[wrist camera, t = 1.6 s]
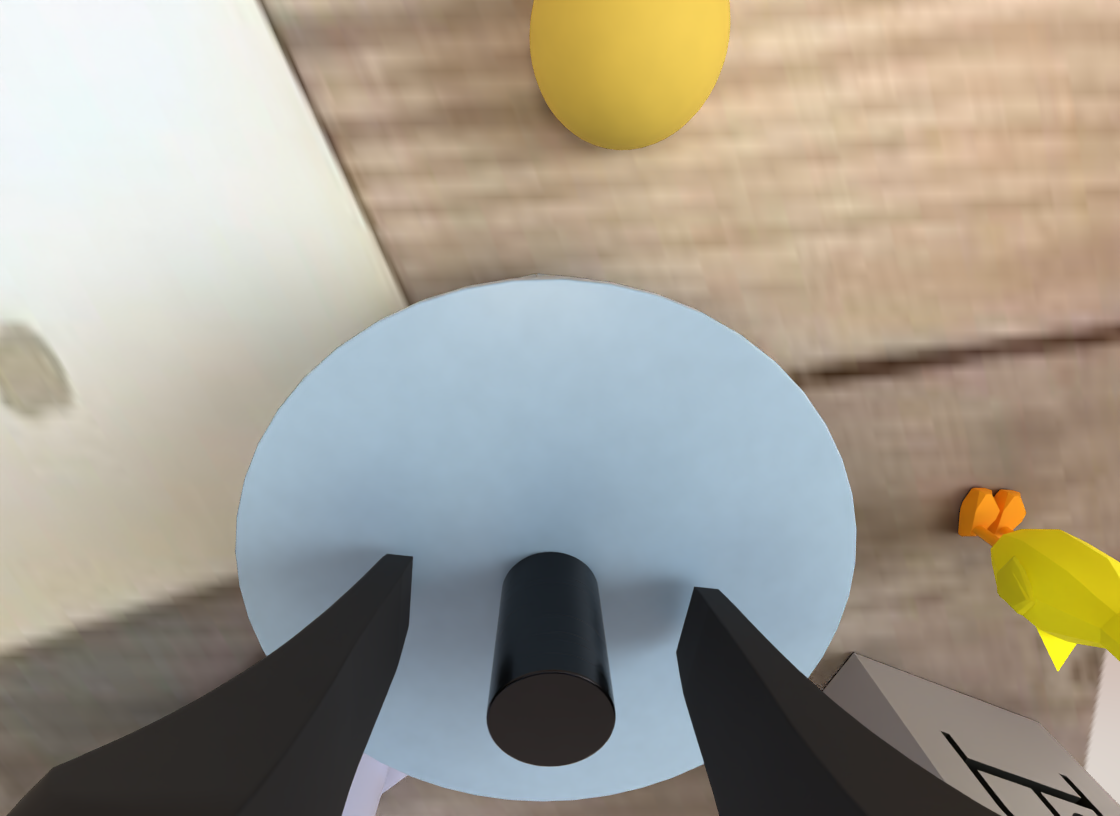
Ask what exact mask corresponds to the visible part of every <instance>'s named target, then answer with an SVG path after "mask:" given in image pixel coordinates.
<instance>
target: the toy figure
mask: <svg viewBox="0 0 1120 816" xmlns="http://www.w3.org/2000/svg"><path fill="white" fill-rule="evenodd" d="M1025 515H1026V511H1025V508H1024V505H1023V503H1022V500H1021V497H1020V493H1019V492H1016V491H1013V490H1003V489H1000V490H999V491H998V493H997V494H996V495H995V496H994V497H993V495H992V490H989V489H987V488H972V489H971V490H970V492H969V493H968V495H967V496H966V498H965V499H964V501H963V502H962V505H961V509H960V517H959V529H958V534H959V535H961V536H979V537H980V538H982V539H983V540H984V541H986V542H987V543H988V544H990V545H991V546H992V548H991V559H992V566H993V570H994V575H995V579H996V584H997V593H998V594H999V596H1000V597H1001V598H1002V599H1004V600H1005V601H1006V602H1007V603H1008V604H1009V605H1010V606H1011V607H1012V608H1013V609H1014V610H1015V611H1016V612H1017V613H1018V614H1020V615H1023V616H1024V617H1025V618H1026V619H1028V620H1029V621H1030V622H1031V623H1032V624H1034V625H1035V626H1036V628H1037V630H1038V632H1039V634H1040V636H1041V638H1042V640H1043V642H1044V644H1045V646H1046V648H1047V651H1048V653H1049V655H1050V657H1051V659H1052V661H1053V663H1054V665H1055V667H1056V669H1057V671H1059V669H1060V668H1061V666H1062V665H1063V663H1064V662H1065V660H1066V659H1067V657H1068V656H1069V654H1070V653H1071V651H1072V650H1073V648H1074V647H1075V645H1076V644H1082V645H1088V646H1094V647H1100V648H1106V649H1107V650H1108V651H1109V652H1110V653H1111V654H1112V655H1113V656H1115V657H1116V658H1117V659H1118V660H1119V661H1120V562H1118V561H1117V560H1115V559H1113V558H1112V557H1110V556H1108V555H1107V554H1105V553H1103V552H1102V551H1100V550H1098V549H1097V548H1095V547H1093V546H1092V545H1090V544H1088V543H1087V542H1084V541H1082V540H1080V539H1078V538H1076V537H1074V536H1072V535H1070V534H1068V533H1066V532H1064V531H1062V530H1060V529H1020V530H1017V531H1013V529H1014V528H1015V527H1016V526H1017V525H1019V524H1020V523H1021V522H1022V520H1023V518H1024V517H1025Z"/></svg>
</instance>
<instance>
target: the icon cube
mask: <svg viewBox="0 0 1120 816" xmlns="http://www.w3.org/2000/svg"><path fill="white" fill-rule="evenodd" d="M822 692H824V693H825V694H826V695H827V696H828V697H829V698H831V699H832V700H833V701H834V702H835V703H837V704H838V705H839V706H840V707H841V708H843V709H844V710H845V711H846V712H848V713H849V714H850V715H851V716H853V717H854V718H855V719H856V720H858V721H859V722H860V723H861V724H863V725H864V726H865V727H866V728H868V729H869V730H870V731H872V732H873V733H874V734H876V735H877V736H878V737H880V738H881V739H883V740H884V741H885V742H887V743H888V744H890V745H891V746H892V747H894V748H895V749H897V750H898V751H899V752H901V753H902V754H904V755H905V756H906V757H908V758H909V759H911V760H912V761H914V762H915V763H917V764H918V765H920V766H921V767H923V768H924V769H926V770H927V771H929V772H930V773H932V774H933V775H935V776H936V777H938V778H939V779H941V780H943V781H944V782H946V783H947V784H949V785H951V786H952V787H954V788H955V789H957V790H959V791H960V792H962V793H963V794H965V795H967V796H968V797H970V798H971V799H973V800H975V801H976V802H978V803H980V804H981V805H983V806H985V807H987V808H988V809H990V810H992V811H994V812H996V813H997V814H999V815H1001V816H1120V805H1119V804H1118V803H1117V802H1116V801H1115V800H1114V799H1113V798H1112V797H1111V796H1110V795H1109V794H1108V793H1107V792H1106V791H1105V790H1104V789H1103V788H1102V787H1101V786H1100V785H1099V784H1098V783H1097V782H1096V781H1095V779H1093V777H1091V775H1090V774H1089V773H1088V772H1087V771H1086V770H1085V769H1084V768H1083V767H1082V766H1081V765H1080V764H1079V763H1078V762H1077V761H1076V760H1075V759H1074V758H1073V757H1072V756H1071V755H1070V754H1069V753H1068V752H1067V751H1066V750H1065V749H1064V748H1063V747H1062V746H1061V745H1060V744H1059V743H1058V742H1057V741H1056V740H1055V739H1054V737H1053V736H1052V735H1051V734H1050V733H1049V732H1048V731H1047V730H1046V729H1045V728H1044V727H1043V726H1042V725H1041V724H1040V723H1039V722H1036V721H1034V720H1031V719H1028V718H1026V717H1023V716H1020V715H1018V714H1015V713H1012V712H1010V711H1007V710H1004V709H1002V708H999V707H996V706H994V705H991V704H988V703H986V702H983V701H981V700H978V699H975V698H973V697H970V696H967V695H965V694H962V693H959V692H957V691H954V690H951V689H949V688H946V687H943V686H941V685H938V684H935V683H933V682H930V681H928V680H925V679H922V678H920V677H917V676H914V675H912V674H909V673H906V672H904V671H901V670H898V669H896V668H893V667H890V666H888V665H885V664H882V663H880V662H877V661H875V660H872V659H869V658H867V657H864V656H861V655H859V654H856V653H853V654H852V656H851V657H850V658H849V659H848V661H847V662H846V663H845V664H844V665H843V667H842V668H841V669H840V670H839V672H838V673H837V674H836V675H835V677H834V678H833V679H832V680H831V682H830V683H829V684H828V685H827V686H826V688H825V689H824V690H823V691H822Z"/></svg>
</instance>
